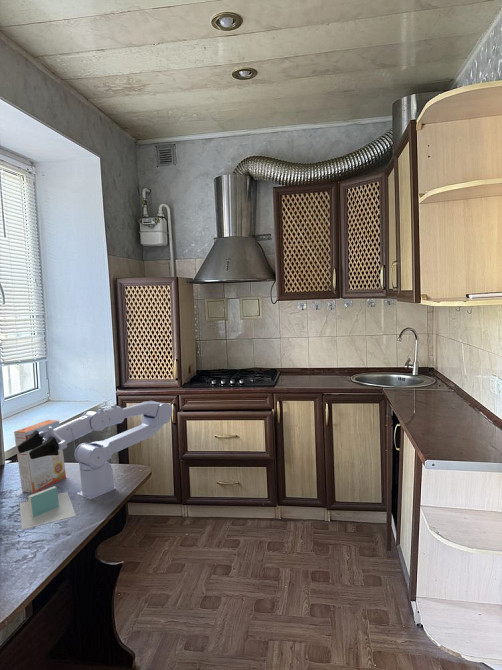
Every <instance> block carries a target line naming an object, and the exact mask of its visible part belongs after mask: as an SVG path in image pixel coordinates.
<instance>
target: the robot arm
mask: <svg viewBox="0 0 502 670" xmlns="http://www.w3.org/2000/svg"><path fill="white" fill-rule="evenodd" d="M172 415H173V407H172V406H171V404H170V403H168V402H158V401H154V400H148V401H142V402H140V403H137V404H134V405H133V404H132V405H130V406H127V407H122V406H119V405H115V404H112V405H111V406H110V407H108V408H99V409H98V410H97V411H93V410H89V411H87V410H86V411H84V413H83V414H81V416H80V417H78V418H75V419H73V420H71V421H68V422H66V423H64V424H60V426H59V427H57V428H55V429H53V428H52V427H48V431H45V432H40V433H39V431H37V430H36V431H34V432H33V433H32V435H31V436H30V437H29V438H28V439H26V440H25V441H24V442H22V443H21V444H20V445H18V446H17V449H18V452H19V453H23V452H26V451H29V450H31V451H30V452H29V454H30V458H31V459H36V458H40V457H44V456H51V455H56V456H57V455H59V452H58V450H59V449H60V450H62V449H63V450H64V449H67V448H68V445H67V444H69V443H71V442H73V441H75V440H77V439H79V438H81V437H84V436H86V435H88V434H90V433H92V432H93V431H95V432H102V431H103V430H105V428H107V427H110V426H114V425H118V424H122V423H123V422H124V420H125V419H126V418H132V417H136V416H142V417H141V424H139V425H137V426H134V427H133V428H130V429H127V430H125V431H122V432H121V433H118V434H116V435H113V436H111V437H108V438H106V439H104V440H99V441H98V440H97V441H92V442H83V443H80V444H78V445H77V447H76V448H75V450H74V453H73V454H74V459H75V460H76V461H77V462H78V464H79V472H80V473H79V474H80V482H81V483H80V484H81V491H79V492H76V495H77V496H80V497H83V498H85V499H88V500H92V499H95V498H97V497H99V496H102V495H104V494H107V493H109V492H111V491H114V490H116V489H117V488H116V487H115V481H114V480H115V479H114V474H113V473H114V471H113V467H112V465H111V463H110V462H109V460H111V459H112V455H114V454H115V453H117V452H118V453H119V452H120V451H122V450H124V449H127V448H129V447H132V446H134V445H136V444H138V443H141V442H142V441H145V440H147V439H149V438H151V437H153V436H155V435H156V434H157V433H158V432H159V431H160V429H162V427H163V426H165V424H167V423H169V422H170V421H171V417H172ZM43 441H45V442H44V443H43Z"/></svg>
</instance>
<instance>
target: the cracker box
mask: <svg viewBox="0 0 502 670" xmlns="http://www.w3.org/2000/svg"><path fill="white" fill-rule="evenodd" d="M59 426H61V424H60V421H59V420H58V419H56V420H55V419H47V420H44V421H41V422H38V423H35V424H33V425H29V426H27V427H24V428H20V429H18V430H15V431H14V432H13V433H14V442H15V448H16V449H15V450H16V454H17V462H18V464H17V465H18V469H19V479H20V485H21V491H22V493H30V494H35V493H38V492H40V491H42V490H44V489H46V488H47V487H50V486H51V485H54V484H55V483H58V482H60V481H61V480H64V479H66V477H67V474H66V473H67V471H66V468H65V467H66V466H65V465H66V464H65V458H64V451H63V450H64V449H62V450H60V449H59V450H58V452H59V455H57V456H56V455H51V456H44V457H40V458H36V459H31V458H30V454H29V452H30V451H31V450H29V451H26V452H23V453H19V452H18V449H17V446H18V445H20V444H21V443H22V442H24V441H25V440H26V439H28V438H29V437H30V436H31V435H32V433H33V432H34V431H36V430H37V431H39V433H40V432H45V431H48V427H52V428H53V429H55V428H57V427H59ZM44 442H45V441H43V443H44Z"/></svg>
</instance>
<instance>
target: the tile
mask: <svg viewBox="0 0 502 670" xmlns="http://www.w3.org/2000/svg"><path fill="white" fill-rule="evenodd" d="M58 494H59V493H58V487H57V486H55V485H53V486H51V487H48V488H45V489H42V490H39V491H37V492H35V493H32V494H31V495H28V499H27V500H28V501H29V508H30V516H31V517H35V516H38V515H40V514H43V513H45V512H47V511H50V510H52V509H54V508H57V507H59V501H58Z"/></svg>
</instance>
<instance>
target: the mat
mask: <svg viewBox="0 0 502 670" xmlns="http://www.w3.org/2000/svg"><path fill="white" fill-rule="evenodd" d="M58 501H59V507H57V508H54V509H52V510H50V511H47V512H45V513H43V514H40V515H38V516H35V517H31V516H30V508H29V500H28V501H23V502H19V511H20V522H21V523H20V524H21V530H26V529H30V528H33V527H38V526H42V525H45V524H49V523H53V522H56V521H61V520H65V519H69V518H71V517H77V515H76V511H75V510H74V507H73V504H72V501H71V498H70V496H69V493H68V491H65V492H61V493H58Z"/></svg>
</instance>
